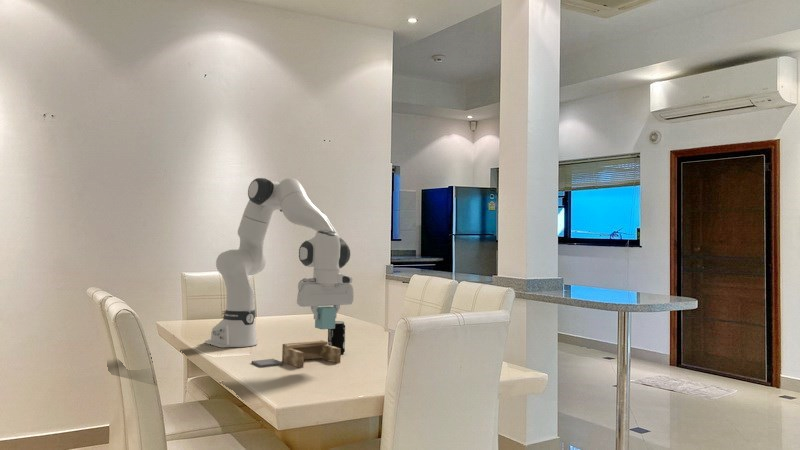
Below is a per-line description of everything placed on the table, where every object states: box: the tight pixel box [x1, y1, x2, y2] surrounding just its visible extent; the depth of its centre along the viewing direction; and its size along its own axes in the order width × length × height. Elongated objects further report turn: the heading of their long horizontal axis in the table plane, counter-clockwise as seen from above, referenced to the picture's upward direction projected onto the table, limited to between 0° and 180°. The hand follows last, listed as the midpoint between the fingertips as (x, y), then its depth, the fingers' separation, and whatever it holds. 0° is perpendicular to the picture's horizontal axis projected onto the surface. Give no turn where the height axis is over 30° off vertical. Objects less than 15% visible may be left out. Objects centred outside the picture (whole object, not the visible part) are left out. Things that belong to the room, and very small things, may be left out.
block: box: [314, 305, 336, 330], centre depth 199 cm, size 5×5×7 cm
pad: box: [251, 358, 284, 368], centre depth 203 cm, size 8×8×1 cm
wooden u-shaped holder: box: [281, 339, 342, 369], centre depth 208 cm, size 14×16×6 cm
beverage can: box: [327, 320, 346, 355], centre depth 225 cm, size 7×7×12 cm
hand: (325, 318), depth 199 cm, fingers closed on block, 5 cm apart
